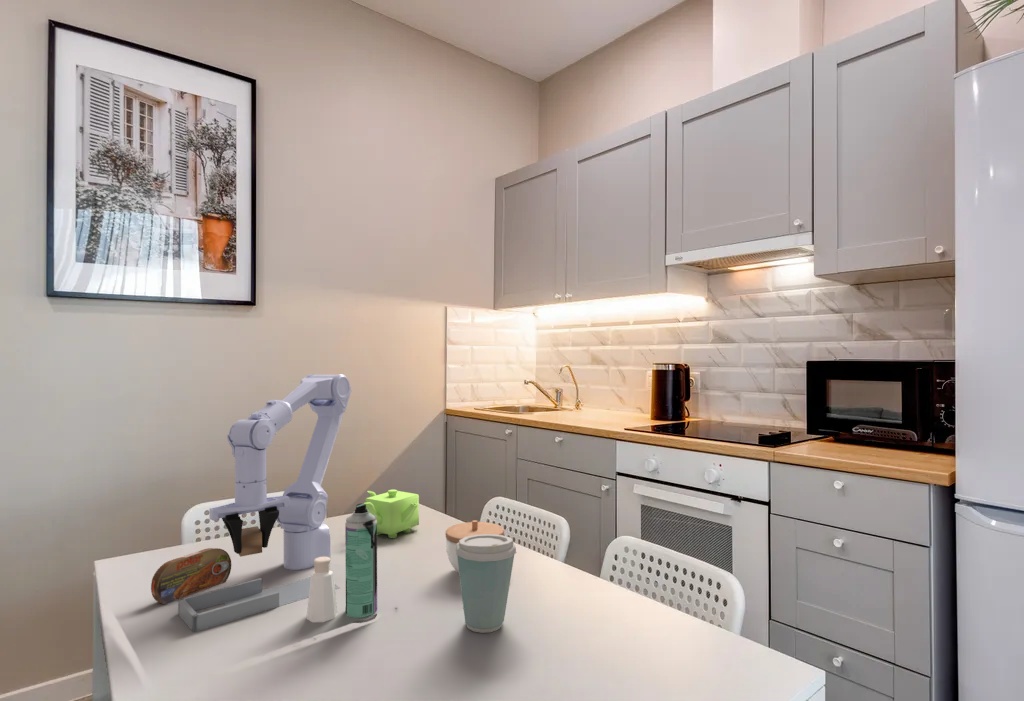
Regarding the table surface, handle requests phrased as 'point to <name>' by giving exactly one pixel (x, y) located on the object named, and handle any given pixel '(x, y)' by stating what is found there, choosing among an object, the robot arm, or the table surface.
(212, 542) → the table surface
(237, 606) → the trap channel
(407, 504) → the kettle
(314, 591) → the salt shaker
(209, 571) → the tin
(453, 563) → the lidded bowl
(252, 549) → the walnut block
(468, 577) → the disposable coffee cup
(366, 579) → the spray can
